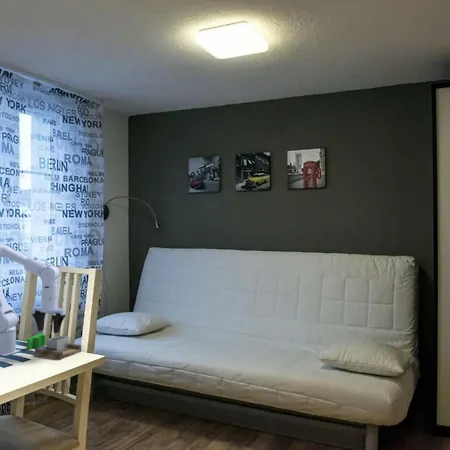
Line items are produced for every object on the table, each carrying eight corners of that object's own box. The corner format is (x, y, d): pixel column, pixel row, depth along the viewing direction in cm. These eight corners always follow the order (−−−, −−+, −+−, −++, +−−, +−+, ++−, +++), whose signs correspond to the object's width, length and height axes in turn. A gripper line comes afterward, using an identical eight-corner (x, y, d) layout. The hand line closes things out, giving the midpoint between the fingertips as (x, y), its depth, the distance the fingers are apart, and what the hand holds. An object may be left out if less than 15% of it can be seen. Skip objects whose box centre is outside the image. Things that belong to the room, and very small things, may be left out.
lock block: (46, 352, 188) (46, 338, 188) (58, 348, 195) (58, 335, 195) (56, 353, 186) (57, 340, 186) (68, 349, 193) (69, 336, 193)
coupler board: (34, 355, 187) (34, 349, 187) (57, 348, 199) (57, 341, 199) (59, 359, 183) (59, 352, 183) (81, 351, 195) (81, 344, 195)
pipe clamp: (35, 350, 195) (35, 339, 195) (26, 350, 196) (27, 339, 195) (49, 343, 206) (49, 333, 206) (40, 343, 207) (40, 332, 207)
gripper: (27, 296, 188) (26, 331, 188) (57, 300, 183) (56, 335, 183) (40, 294, 195) (39, 328, 195) (69, 297, 189) (68, 332, 190)
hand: (48, 331), depth 189 cm, fingers open, 7 cm apart
